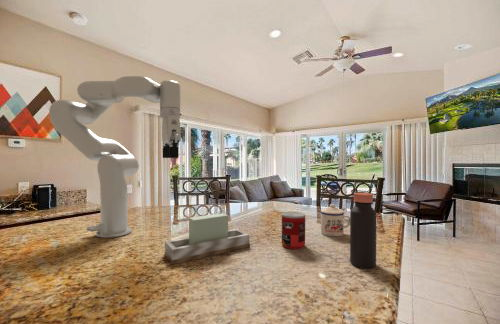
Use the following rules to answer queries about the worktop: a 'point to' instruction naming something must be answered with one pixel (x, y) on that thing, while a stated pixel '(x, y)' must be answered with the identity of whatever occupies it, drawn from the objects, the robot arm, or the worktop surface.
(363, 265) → the bottle
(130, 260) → the worktop surface
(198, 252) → the grey stone tray
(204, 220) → the pale green block
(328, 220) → the teacup with lid
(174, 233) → the worktop surface
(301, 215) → the canned food
